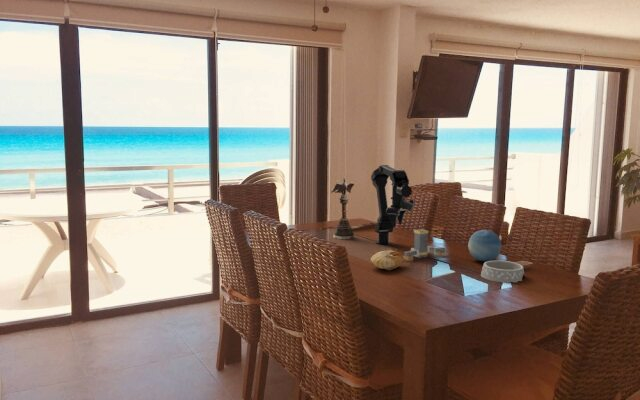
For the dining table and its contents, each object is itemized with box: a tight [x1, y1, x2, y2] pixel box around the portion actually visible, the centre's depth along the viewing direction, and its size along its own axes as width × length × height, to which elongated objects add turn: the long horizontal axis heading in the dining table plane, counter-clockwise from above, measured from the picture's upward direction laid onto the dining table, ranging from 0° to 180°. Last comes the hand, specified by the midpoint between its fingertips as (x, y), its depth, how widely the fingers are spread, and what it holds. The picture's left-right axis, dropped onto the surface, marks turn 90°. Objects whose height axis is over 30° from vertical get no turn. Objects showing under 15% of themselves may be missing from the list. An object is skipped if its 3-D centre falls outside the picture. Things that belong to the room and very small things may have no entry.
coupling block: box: [413, 228, 429, 259], centre depth 269 cm, size 5×5×13 cm
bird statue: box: [330, 177, 355, 240], centre depth 314 cm, size 17×13×35 cm
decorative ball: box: [467, 229, 502, 263], centre depth 259 cm, size 15×15×15 cm
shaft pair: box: [402, 245, 447, 262], centre depth 267 cm, size 6×23×5 cm, turn 116°
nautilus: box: [370, 249, 414, 271], centre depth 247 cm, size 8×21×15 cm
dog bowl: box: [480, 260, 526, 284], centre depth 235 cm, size 17×18×5 cm
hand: (397, 225), depth 280 cm, fingers open, 9 cm apart
